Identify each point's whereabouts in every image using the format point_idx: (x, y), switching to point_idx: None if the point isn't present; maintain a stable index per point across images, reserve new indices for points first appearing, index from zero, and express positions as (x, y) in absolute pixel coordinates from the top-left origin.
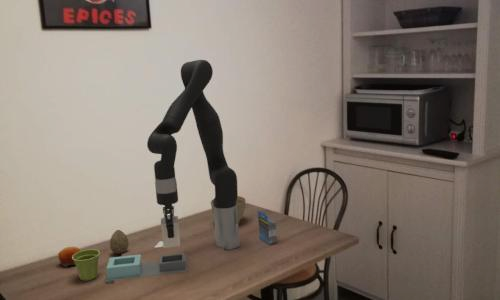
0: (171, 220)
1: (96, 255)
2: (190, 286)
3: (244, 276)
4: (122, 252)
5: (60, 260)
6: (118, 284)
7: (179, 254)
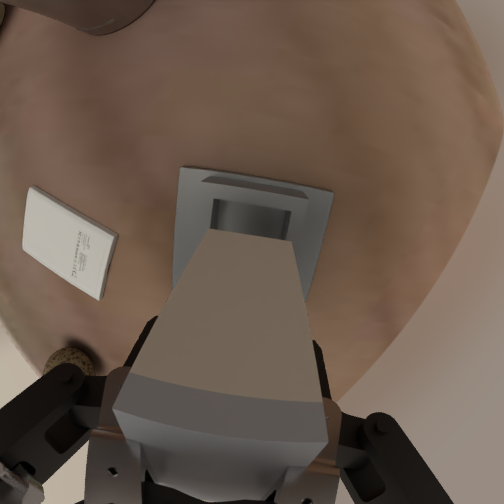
0: (434, 493)
1: None
2: (427, 207)
3: (428, 20)
4: (90, 360)
5: None
6: None
7: (208, 211)
